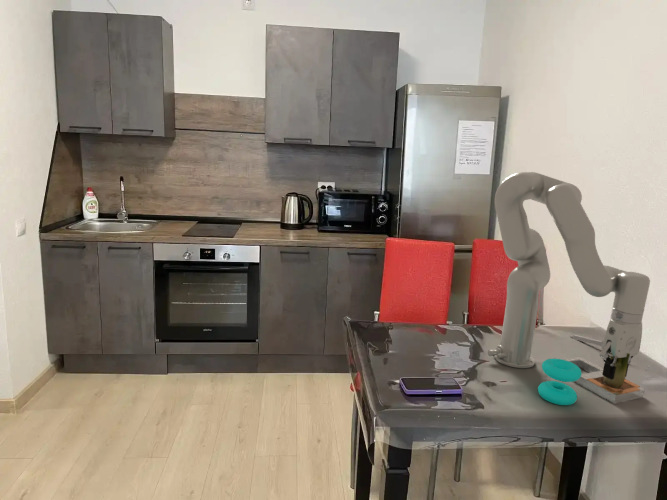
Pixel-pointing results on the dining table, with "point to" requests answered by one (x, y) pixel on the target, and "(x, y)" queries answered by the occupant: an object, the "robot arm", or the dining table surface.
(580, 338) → the caliper
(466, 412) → the dining table surface
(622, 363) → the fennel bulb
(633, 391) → the orange and grey tray
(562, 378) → the donuts
